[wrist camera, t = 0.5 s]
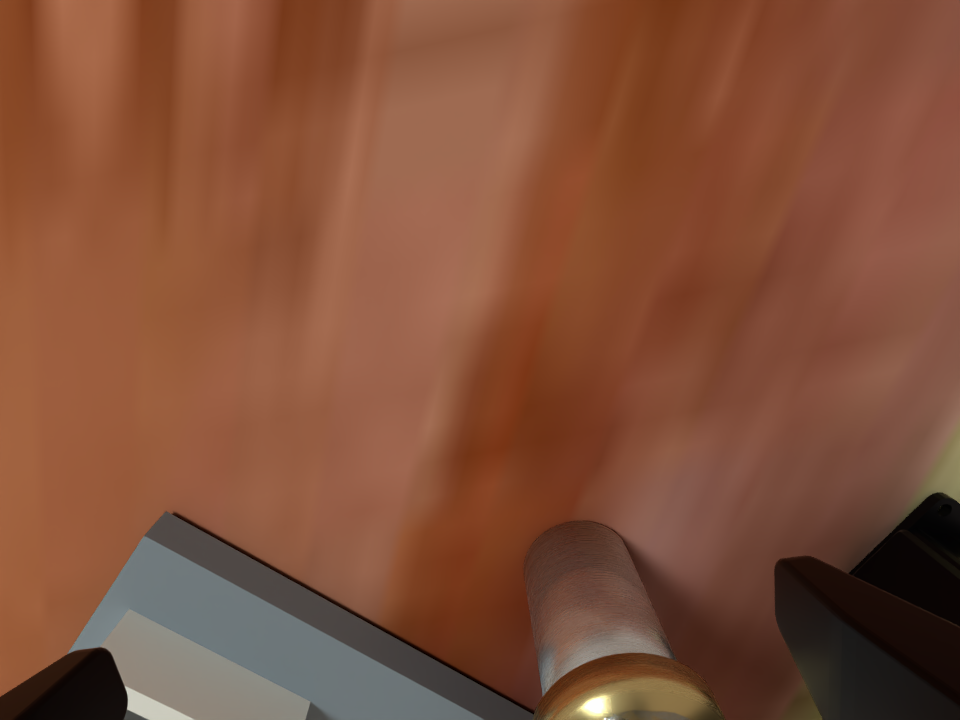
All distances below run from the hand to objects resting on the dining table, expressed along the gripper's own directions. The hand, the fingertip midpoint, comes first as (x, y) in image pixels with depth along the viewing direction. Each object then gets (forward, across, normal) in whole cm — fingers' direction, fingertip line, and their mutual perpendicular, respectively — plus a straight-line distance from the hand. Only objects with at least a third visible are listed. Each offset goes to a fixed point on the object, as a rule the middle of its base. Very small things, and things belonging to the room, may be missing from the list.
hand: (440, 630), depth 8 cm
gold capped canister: (+12, -3, +8) cm, 15 cm away
